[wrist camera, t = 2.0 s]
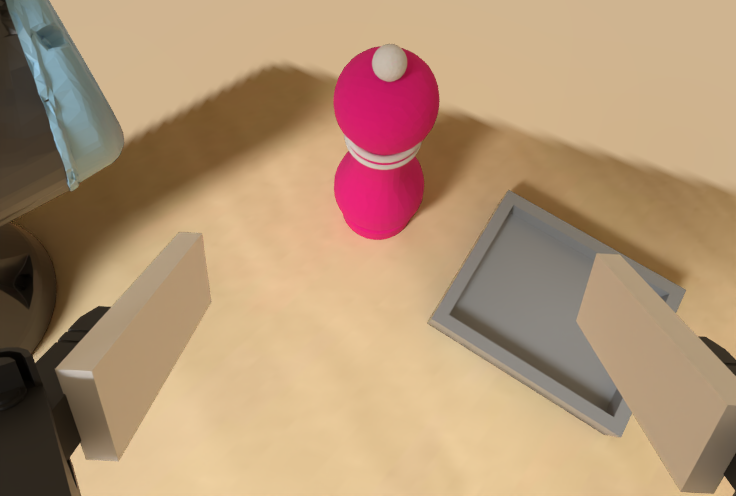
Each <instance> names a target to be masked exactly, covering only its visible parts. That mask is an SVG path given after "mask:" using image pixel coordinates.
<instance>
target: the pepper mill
mask: <svg viewBox="0 0 736 496" xmlns="http://www.w3.org/2000/svg"><path fill="white" fill-rule="evenodd" d="M438 109H439V91H438V85H437V82H436V79H435V77H434V74H433V73H432V71H431V69H430V68H429V66H428V65H427V64H426V63H425V62H424V61H423V60H422V59H420V58H419V57H418V56H417V55H415V54H414V53H412V52H410V51H408V50H405V49H403V48H400V47H398V46H397V45H394V44H387V45H383V46H380V47H374V48H371V49H368V50H366V51H364V52H362V53H360V54H358V55H357V56H355V57H354V58H353V59H352V60H351V61H350V62H349V63H348V64H347V65H346V66H345V67H344V69H343V71H342V73H341V74H340V76H339V78H338V81H337V84H336V87H335V92H334V110H335V116H336V119H337V122H338V125H339V127H340V128H341V130H342V131H343V133H344V138H345V142H346V145H347V148H348V150H349V151H348V152H347V153H346V155H345V156H344V158H343V159H342V161H341V162H340V164H339V166H338V168H337V171H336V174H335V182H334V193H335V198H336V202H337V204H338V206H339V208H340V210H341V211H342V213H343V216H344V219H345V221H346V223H347V224H348V226H349V227H350V228H351V229H352V230H353V231H354V232H356V233H357V234H359V235H360V236H363V237H365V238H369V239H374V240H382V239H387V238H390V237H392V236H395V235H396V234H398V233H399V232H401V231H402V230H403V229H404V228H405V226H406V225H407V224H408V222H409V220H410V218H411V217H412V216H413V215H414V214H415V213H416V211H417V210H418V208H419V206H420V204H421V202H422V197H423V192H424V177H423V173H422V169H421V166H420V164H419V161H418V160H417V158H416V157H415V155H416V154H417V152H418V151H419V149H420V147H421V144H422V140H424V138H425V137H426V136H427V134H428V133H429V132H430V130H431V129H432V128H433V125H434V123H435V121H436V118H437V114H438Z"/></svg>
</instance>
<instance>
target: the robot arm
mask: <svg viewBox="0 0 736 496" xmlns="http://www.w3.org/2000/svg"><path fill="white" fill-rule="evenodd" d="M123 145H124V136H123V131H122V129H121V127H120V125H119V122H118V121H117V119H116V117H115V115H114V113H113V111H112V109H111V107H110V105H109V104H108V102H107V100H106V99H105V97H104V95H103V93H102V91H101V89H100V88H99V86H98V84H97V82H96V81H95V79H94V77H93V75H92V74H91V72H90V70H89V68H88V67H87V65H86V63H85V61H84V60H83V58H82V56H81V54H80V53H79V51H78V49H77V48H76V46H75V44H74V43H73V41H72V39H71V37H70V35H69V34H68V32H67V30H66V29H65V27H64V25H63V23H62V22H61V20H60V19H59V17H58V15H57V13H56V11H55V10H54V8H53V6H52V5H51V3H50V1H49V0H0V496H81V494H80V490H79V486H78V483H77V479H76V475H75V472H74V468H73V465H72V462H71V459H70V456H71V455H72V453H73V452H74V450H75V449H76V448H77V446H78V445H79V443H81V446H82V449H83V452H84V455H85V458H86V460H104V461H119V460H120V458H121V456H122V455H123V453H124V451H125V450H126V448H127V446H128V444H129V443H130V441H131V439H132V438H133V436H134V434H135V432H136V431H137V429H138V427H139V425H140V424H141V422H142V420H143V419H144V417H145V415H146V413H147V412H148V410H149V408H150V407H151V405H152V403H153V401H154V400H155V398H156V396H157V395H158V393H159V391H160V389H161V388H162V386H163V384H164V383H165V381H166V379H167V377H168V376H169V374H170V372H171V371H172V369H173V367H174V365H175V364H176V362H177V360H178V358H179V357H180V355H181V353H182V352H183V350H184V348H185V346H186V345H187V343H188V341H189V340H190V338H191V336H192V334H193V333H194V331H195V329H196V328H197V326H198V324H199V322H200V321H201V319H202V317H203V316H204V314H205V312H206V310H207V309H208V307H209V305H210V304H211V296H210V288H209V281H208V273H207V266H206V258H205V251H204V243H203V236H202V233H191V232H179V233H178V234H177V235H176V236H175V237H174V238H173V239H172V240H171V242H170V243H169V244H168V245H167V246H166V247H165V248H164V249H163V250H162V251H161V253H160V254H159V255H158V256H157V257H156V258H155V259H154V260H153V261H152V263H151V264H150V265H149V266H148V267H147V268H146V269H145V270H144V271H143V272H142V274H141V275H140V276H139V277H138V278H137V279H136V280H135V281H134V282H133V284H132V285H131V286H130V287H129V288H128V289H127V290H126V291H125V292H124V293H123V295H122V296H121V297H120V298H119V299H118V300H117V301H116V302H115V303H114V304H113V306H112V307H102V306H98V307H97V308H95V309H93V310H92V311H90V312H88V313H86V314H85V315H83V316H81V317H80V318H79V319H78V320H77V321H76V322H75V323H74V324H73V325H72V326H71V327H70V328H69V329H68V332H65V333H64V334H63V335H62V336H61V337H60V339H59V340H58V343H57V342H56V343H55V344H54V345H53V346H52V347H51V348H50V349H49V350H48V351H47V352H46V353H45V354H44V355H43V356H42V357H41V358H40V359H39V360H38V361H37V362H36V363H35V362H34V359H33V356H32V355H31V353H32V352H33V351H34V349H35V348H36V346H37V345H38V344H39V342H40V340H41V339H42V337H43V335H44V333H45V331H46V329H47V327H48V325H49V322H50V320H51V317H52V313H53V310H54V305H55V299H56V277H55V272H54V268H53V264H52V262H51V259H50V257H49V255H48V253H47V252H46V250H45V248H44V247H43V246H42V244H41V243H40V242H39V241H38V240H37V239H36V238H35V237H34V236H33V235H31V234H30V233H29V232H27V231H26V230H24V229H22V228H20V227H18V226H16V225H14V224H12V223H10V221H12V220H14V219H16V218H18V217H20V216H21V215H23V214H25V213H27V212H29V211H31V210H33V209H35V208H37V207H39V206H41V205H43V204H44V203H46V202H48V201H50V200H52V199H54V198H56V197H58V196H60V195H62V194H64V193H65V192H67V191H71V192H72V191H74V190H75V189H76V188H78V186H79V183H80V182H82V181H83V180H85V179H87V178H88V177H90V176H92V175H93V174H95V173H97V172H98V171H100V170H102V169H103V168H105V167H107V166H108V165H110V164H112V163H113V162H114V161H115V160H116V159H117V158H118V157H119V155H120V154H121V151H122V148H123ZM576 322H577V324H578V325H579V327H580V328H581V330H582V332H583V333H584V335H585V337H586V338H587V340H588V342H589V343H590V345H591V346H592V348H593V350H594V351H595V353H596V355H597V356H598V358H599V359H600V361H601V363H602V364H603V366H604V368H605V369H606V371H607V373H608V374H609V376H610V377H611V379H612V381H613V382H614V384H615V386H616V387H617V389H618V391H619V392H620V394H621V395H622V397H623V399H624V400H625V402H626V404H627V405H628V407H629V408H630V410H631V412H632V413H633V415H634V417H635V418H636V420H637V422H638V423H639V425H640V426H641V428H642V430H643V431H644V433H645V435H646V436H647V438H648V439H649V441H650V443H651V444H652V446H653V448H654V449H655V451H656V453H657V454H658V456H659V457H660V459H661V461H662V462H663V464H664V466H665V467H666V469H667V471H668V472H669V474H670V475H671V477H672V479H673V480H674V482H675V484H676V485H677V487H678V488H679V490H680V492H692V493H711V494H714V492H715V491H716V489H717V487H718V485H719V484H720V482H721V480H722V479H723V477H724V476H725V477H726V478H727V480H728V481H729V483H730V484H731V485H732V487H733V488H734V489H735V493H734V494H733V496H736V360H735V359H734V358H733V357H732V356H731V355H730V354H729V353H728V352H727V351H726V350H725V349H724V348H722V347H721V346H719V345H718V344H716V343H715V342H713V341H711V340H710V339H708V338H707V337H698V336H697V335H696V334H695V333H694V332H693V331H692V330H691V329H690V328H689V327H688V326H687V325H686V324H685V322H684V321H683V320H682V319H681V318H680V317H679V316H678V315H677V314H676V313H675V312H674V311H673V310H672V309H671V308H670V307H669V306H668V305H667V304H666V303H665V301H664V300H663V299H662V298H661V297H660V296H659V295H658V294H657V293H656V292H655V291H654V290H653V289H652V288H651V287H650V286H649V285H648V284H647V283H646V282H645V281H644V279H643V278H642V277H641V276H640V275H639V274H638V273H637V272H636V271H635V270H634V269H633V268H632V267H631V266H630V265H629V264H628V263H627V262H626V261H625V260H624V258H623V257H622V256H621V255H619V254H600V253H597V254H596V257H595V260H594V263H593V267H592V270H591V273H590V277H589V280H588V283H587V286H586V290H585V293H584V296H583V300H582V303H581V306H580V310H579V313H578V316H577V319H576Z"/></svg>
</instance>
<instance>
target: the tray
mask: <svg viewBox="0 0 736 496" xmlns="http://www.w3.org/2000/svg"><path fill="white" fill-rule="evenodd" d="M597 253H600V254H619V255H621V256H622V257H623V258H624V260H625V261H626V262H627V263H628V264H629V265H630V266H631V267H632V268H633V269H634V270H635V271H636V272H637V273H638V274H639V275H640V276H641V277H642V278H643V279H644V281H645V282H646V283H647V284H648V285H649V286H650V287H651V288H652V289H653V290H654V291H655V292H656V293H657V294H658V295H659V296H660V297H661V298H662V299H663V300H664V301H665V303H666V304H667V305H668V306H669V307H670V308H671V309H672V310H673V311H674V312H675V313H676V312H677V310H678V307H679V305H680V303H681V300H682V298H683V296H684V294H685V291H686V290H685V289H683V288H682V287H680V286H678V285H676V284H675V283H673V282H671V281H669V280H668V279H666V278H664V277H662V276H660V275H659V274H657V273H655V272H653V271H652V270H650V269H648V268H646V267H644V266H643V265H641V264H639V263H637V262H636V261H634V260H632V259H630V258H629V257H627V256H625V255H623V254H621V253H620V252H618V251H616V250H614V249H613V248H611V247H609V246H607V245H605V244H604V243H602V242H600V241H598V240H597V239H595V238H593V237H591V236H590V235H588V234H586V233H584V232H582V231H581V230H579V229H577V228H575V227H574V226H572V225H570V224H568V223H566V222H565V221H563V220H561V219H559V218H558V217H556V216H554V215H552V214H551V213H549V212H547V211H545V210H543V209H542V208H540V207H538V206H536V205H535V204H533V203H531V202H529V201H527V200H526V199H524V198H522V197H520V196H519V195H517V194H515V193H513V192H512V191H510V190H508V191H507V193H506V194H505V195H504V197H503V198H502V199H501V201H500V202H499V204H498V206H497V207H496V209H495V211H494V212H493V214H492V216H491V217H490V219H489V221H488V222H487V224H486V226H485V227H484V229H483V231H482V232H481V234H480V236H479V237H478V239H477V241H476V242H475V244H474V246H473V247H472V249H471V251H470V252H469V254H468V256H467V257H466V259H465V261H464V262H463V264H462V266H461V267H460V269H459V271H458V272H457V274H456V276H455V277H454V279H453V281H452V282H451V284H450V286H449V287H448V289H447V291H446V292H445V294H444V296H443V297H442V299H441V301H440V302H439V304H438V306H437V307H436V309H435V311H434V312H433V314H432V316H431V317H430V319H429V321H428V322H427V323H428V324H429V325H431V326H432V327H434V328H436V329H437V330H439V331H440V332H442V333H444V334H445V335H447V336H448V337H450V338H452V339H453V340H455V341H456V342H458V343H459V344H461V345H463V346H464V347H466V348H467V349H469V350H471V351H472V352H474V353H475V354H477V355H478V356H480V357H482V358H483V359H485V360H486V361H488V362H490V363H491V364H493V365H494V366H496V367H498V368H499V369H501V370H502V371H504V372H505V373H507V374H509V375H510V376H512V377H513V378H515V379H517V380H518V381H520V382H521V383H523V384H525V385H526V386H528V387H529V388H531V389H532V390H534V391H536V392H537V393H539V394H540V395H542V396H544V397H545V398H547V399H548V400H550V401H552V402H553V403H555V404H556V405H558V406H559V407H561V408H563V409H564V410H566V411H567V412H569V413H571V414H572V415H574V416H575V417H577V418H578V419H580V420H582V421H583V422H585V423H586V424H588V425H590V426H591V427H593V428H594V429H596V430H598V431H599V432H601V433H602V434H604V435H610V436H615V437H621V436H622V434H623V432H624V430H625V427H626V425H627V423H628V421H629V418H630V416H631V414H632V412H631V410H630V408H629V407H628V405H627V404H626V402H625V400H624V399H623V397H622V395H621V394H620V392H619V391H618V389H617V387H616V386H615V384H614V382H613V381H612V379H611V377H610V376H609V374H608V373H607V371H606V369H605V368H604V366H603V364H602V363H601V361H600V359H599V358H598V356H597V355H596V353H595V351H594V350H593V348H592V346H591V345H590V343H589V342H588V340H587V338H586V337H585V335H584V333H583V332H582V330H581V328H580V327H579V325H578V324H577V322H576V319H577V316H578V313H579V310H580V306H581V303H582V300H583V296H584V293H585V290H586V286H587V283H588V280H589V277H590V273H591V270H592V267H593V263H594V260H595V257H596V254H597Z"/></svg>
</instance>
